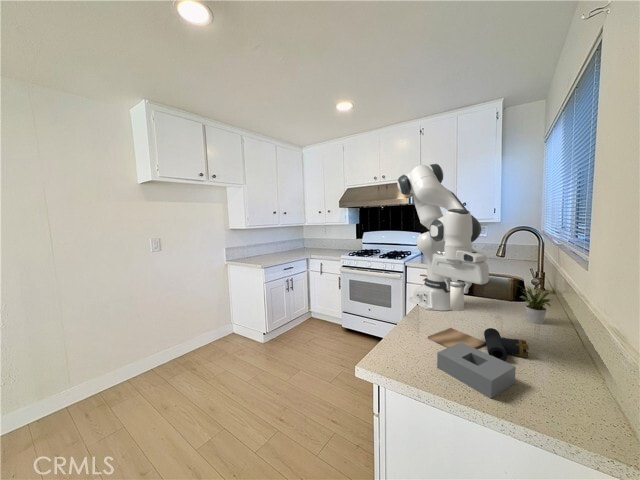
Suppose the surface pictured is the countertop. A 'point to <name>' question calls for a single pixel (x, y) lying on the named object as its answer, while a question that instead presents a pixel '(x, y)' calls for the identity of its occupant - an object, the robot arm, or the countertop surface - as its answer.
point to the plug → (456, 296)
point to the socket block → (476, 369)
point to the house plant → (536, 306)
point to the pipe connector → (504, 345)
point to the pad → (455, 338)
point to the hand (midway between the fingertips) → (457, 290)
